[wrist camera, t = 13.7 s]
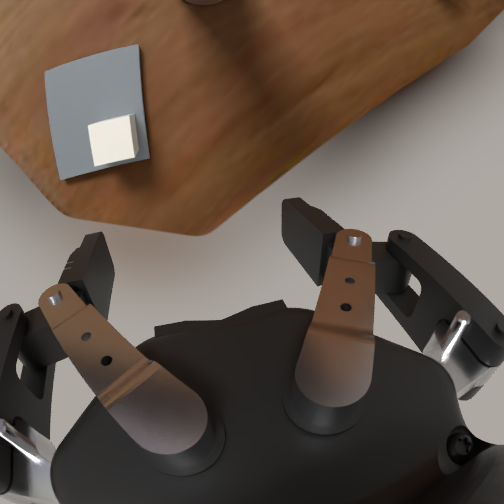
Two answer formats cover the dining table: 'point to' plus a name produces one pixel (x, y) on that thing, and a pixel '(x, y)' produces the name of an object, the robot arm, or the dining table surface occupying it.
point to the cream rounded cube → (113, 139)
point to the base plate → (93, 105)
